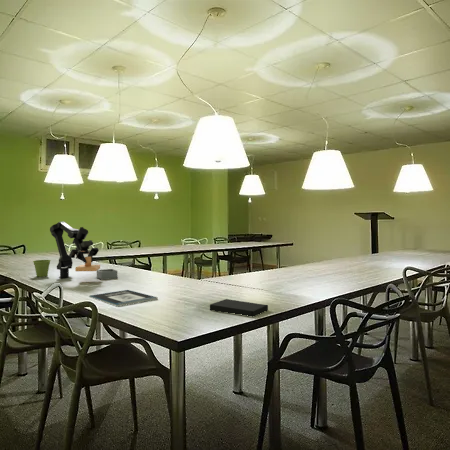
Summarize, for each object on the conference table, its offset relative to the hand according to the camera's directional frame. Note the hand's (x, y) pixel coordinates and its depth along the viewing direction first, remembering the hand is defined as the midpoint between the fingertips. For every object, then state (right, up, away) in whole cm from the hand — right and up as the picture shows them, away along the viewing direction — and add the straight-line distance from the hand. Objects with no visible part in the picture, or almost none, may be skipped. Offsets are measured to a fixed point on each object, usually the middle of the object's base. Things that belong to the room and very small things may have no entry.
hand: (89, 262), depth 253 cm
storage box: (+7, -13, +15) cm, 21 cm away
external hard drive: (+95, -16, -73) cm, 121 cm away
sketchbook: (+34, -15, -46) cm, 60 cm away
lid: (-1, -5, +1) cm, 5 cm away
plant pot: (-44, -13, +28) cm, 53 cm away
